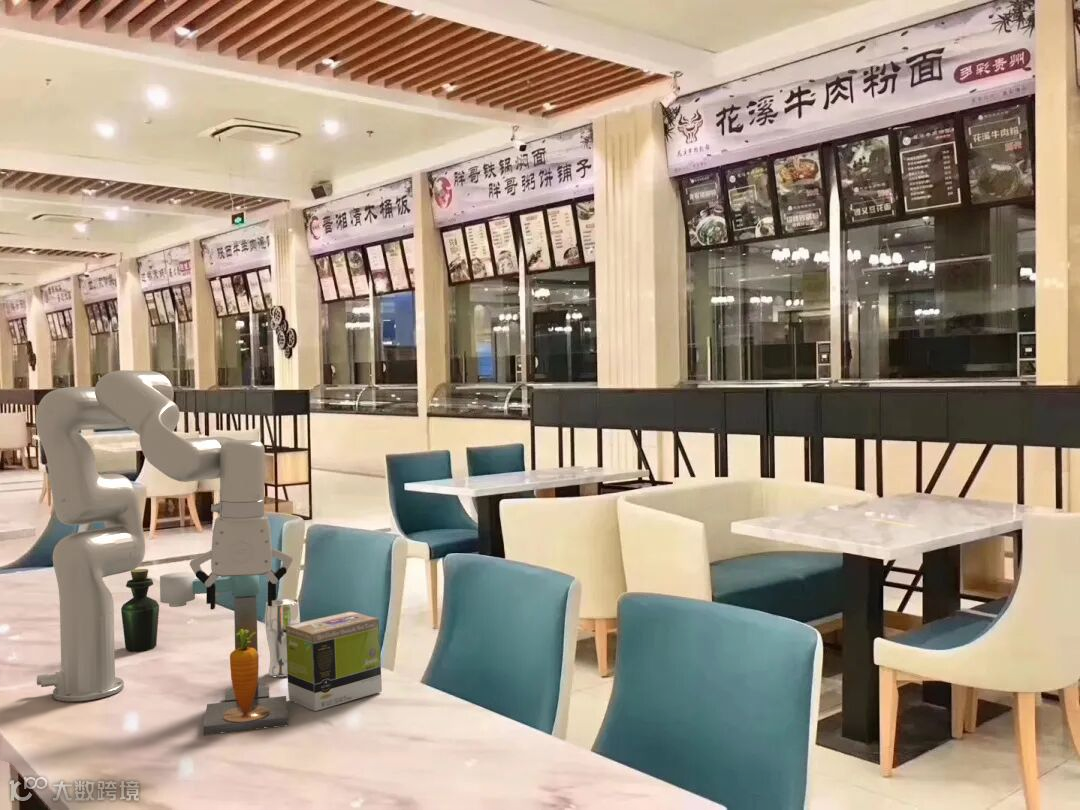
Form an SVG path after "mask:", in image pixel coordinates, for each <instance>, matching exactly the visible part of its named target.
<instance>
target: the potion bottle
mask: <svg viewBox="0 0 1080 810" xmlns="http://www.w3.org/2000/svg"><path fill="white" fill-rule="evenodd" d="M148 573H149V569H148V568H135V569H134V570H131V571H130V575H131V578H132V579H128V580H127V582H126V584H125V587H126V588H129V589H130V590H131V593H132V598H131V599H129V600H128V601H126V602H125V603H123V604H122V606H121V607H120V612H121V613H120V614H121V619H122V620H121V621H122V628H123V638H124V645H125V646H124V647H125V650H126V651H127V652H131V653H133V652H134V653H135V652H136V653H138V652H139V653H141V652H147V651H150V650H153V649H155V648H156V647H157V645H158V644H157V643H158V642H157V641H158V627H159V616H160V615H159V613H160V605H159V603H158V602H157V600H155V599H153V598H152V597H150V596H148V592H149V587H152V586H153V585H154V581H153V579H152V578H149V577H148V575H149V574H148Z"/></svg>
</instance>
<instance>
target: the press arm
mask: <svg viewBox="0 0 1080 810" xmlns="http://www.w3.org/2000/svg"><path fill="white" fill-rule="evenodd" d="M195 577H196V575H195V573H194V572H187V571H186V572H182V571H181V572H173V573H172V572H171V573H166V574H163V575H160V576H159V588H160V589H159V594H160V595H159V597H160V598H159V601H160V603H163V604H168V606H169V607H170V608H179V607H184V606H186V605H187V603H188V602H192V601H194V600H195V599H196V595H200V594H201V595H203V594H207V587H206V586H205V584H204V583H202V582H201V581H200V580H199V579H198V578H195ZM214 584H216V594H217V593H227V592H228V593H229V592H230V593H231V596H252V595H256V594H257V595H258V594H260V575H253V576H231V577H220V576H219V577H218V578H217V579H216V581H215V582H214Z"/></svg>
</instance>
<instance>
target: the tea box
mask: <svg viewBox="0 0 1080 810" xmlns="http://www.w3.org/2000/svg"><path fill="white" fill-rule="evenodd" d="M380 636H381V635H380V620H379V618H378V617H374V616H371V615H366V614H363V613H358V612H354V611H347V612H342V613H337V614H332V615H328V616H323V617H318V618H314V619H310V620H305V621H300V623H296V624H292V625H287V626H286V643H287V673H288V677H287V692H288V699H289V701H290V700H291V702H292V701H294V702H296V703H298V704H297V705H299V704H300V705H299V706H301V705H302V707H303V706H304V707H303V708H306V707H307V708H306V709H308V708H309V710H310V709H311V710H310V711H314V712H317V711H320V710H324V709H328V708H331V707H335V706H338V705H341V704H344V703H348V702H352V701H355V700H357V699H360V698H361V699H362V698H366V697H368V696H371V695H375V694H378V693H381V692H382V690H383V687H382V661H381V656H382V655H381V637H380ZM294 702H293V703H294ZM296 703H295V704H296Z"/></svg>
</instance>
